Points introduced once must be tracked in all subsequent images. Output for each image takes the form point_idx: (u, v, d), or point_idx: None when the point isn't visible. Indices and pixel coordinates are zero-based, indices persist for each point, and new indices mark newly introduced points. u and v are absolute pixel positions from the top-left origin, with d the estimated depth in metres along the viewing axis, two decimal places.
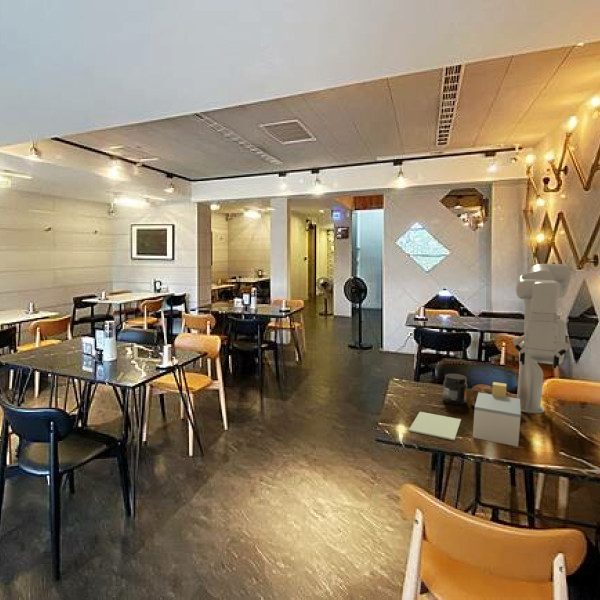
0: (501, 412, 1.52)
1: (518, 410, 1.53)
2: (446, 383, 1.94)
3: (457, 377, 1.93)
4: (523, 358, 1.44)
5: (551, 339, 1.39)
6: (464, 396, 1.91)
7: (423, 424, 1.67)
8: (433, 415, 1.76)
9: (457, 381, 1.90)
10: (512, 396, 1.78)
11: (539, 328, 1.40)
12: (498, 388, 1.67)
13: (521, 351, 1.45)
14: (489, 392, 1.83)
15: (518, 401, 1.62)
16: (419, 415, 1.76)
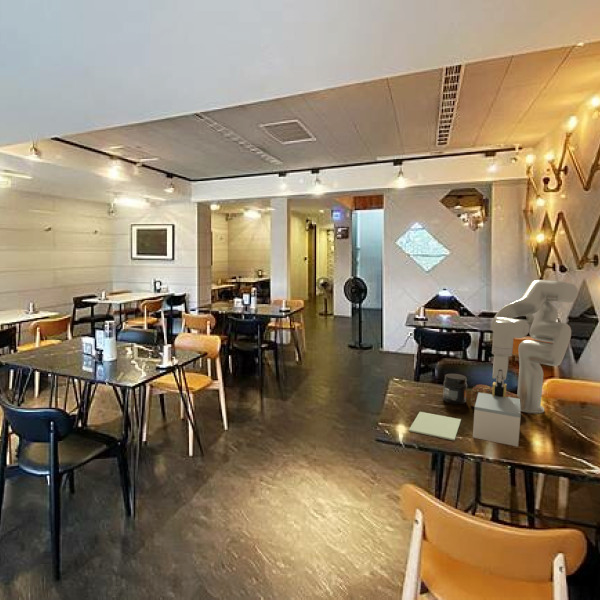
0: (501, 412, 1.52)
1: (518, 410, 1.53)
2: (446, 383, 1.94)
3: (457, 377, 1.93)
4: None
5: None
6: (464, 396, 1.91)
7: (423, 424, 1.67)
8: (433, 415, 1.76)
9: (457, 381, 1.90)
10: (514, 395, 1.79)
11: None
12: None
13: (502, 386, 1.65)
14: (491, 392, 1.82)
15: (518, 401, 1.62)
16: (419, 415, 1.76)
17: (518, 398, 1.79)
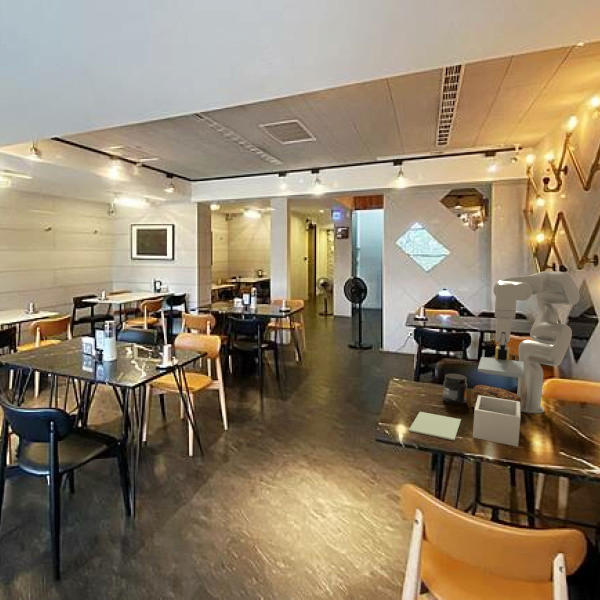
0: (504, 373, 1.50)
1: (522, 371, 1.51)
2: (446, 383, 1.94)
3: (457, 377, 1.93)
4: (506, 354, 1.65)
5: None
6: (464, 396, 1.91)
7: (423, 424, 1.67)
8: (433, 415, 1.76)
9: (457, 381, 1.90)
10: (515, 395, 1.79)
11: None
12: None
13: None
14: (492, 393, 1.82)
15: (521, 363, 1.60)
16: (419, 415, 1.76)
17: (518, 397, 1.80)
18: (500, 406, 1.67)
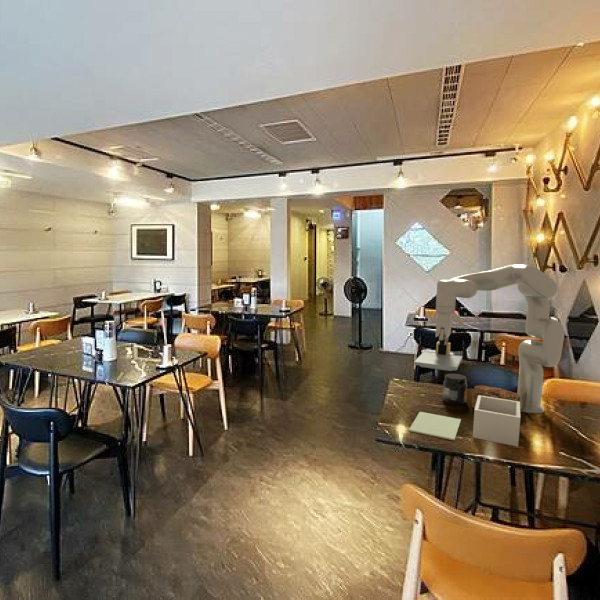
0: (439, 366, 1.54)
1: (456, 364, 1.55)
2: (446, 383, 1.94)
3: (457, 377, 1.93)
4: None
5: None
6: (464, 396, 1.91)
7: (423, 424, 1.67)
8: (433, 415, 1.76)
9: (457, 381, 1.90)
10: (516, 394, 1.80)
11: (450, 319, 1.69)
12: None
13: (445, 344, 1.68)
14: (494, 393, 1.81)
15: (459, 358, 1.65)
16: (419, 415, 1.76)
17: (519, 396, 1.81)
18: (500, 406, 1.67)
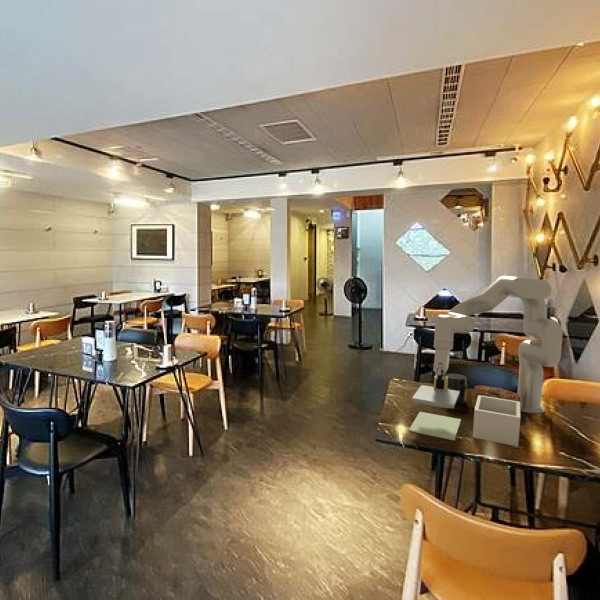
0: (436, 403, 1.56)
1: (453, 401, 1.57)
2: None
3: (457, 377, 1.93)
4: (443, 383, 1.71)
5: None
6: (464, 396, 1.91)
7: (423, 424, 1.67)
8: (433, 415, 1.76)
9: (457, 381, 1.90)
10: (516, 394, 1.80)
11: (448, 354, 1.70)
12: None
13: (443, 378, 1.70)
14: (494, 393, 1.81)
15: (457, 393, 1.66)
16: (419, 415, 1.76)
17: (519, 396, 1.81)
18: (500, 406, 1.67)
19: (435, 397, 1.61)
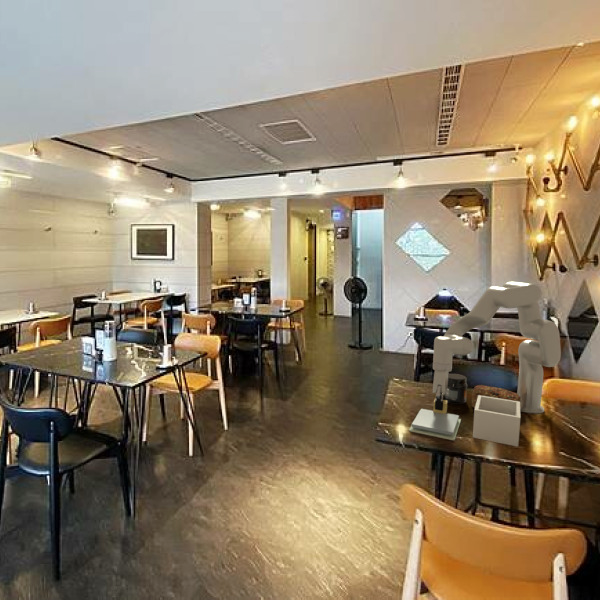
0: (435, 430, 1.58)
1: (452, 428, 1.59)
2: None
3: (457, 377, 1.93)
4: (442, 405, 1.71)
5: None
6: (464, 396, 1.91)
7: None
8: None
9: (457, 381, 1.90)
10: (516, 394, 1.80)
11: (447, 375, 1.71)
12: None
13: (442, 400, 1.70)
14: (494, 393, 1.82)
15: (456, 418, 1.68)
16: None
17: (519, 396, 1.81)
18: (500, 406, 1.67)
19: (434, 423, 1.63)
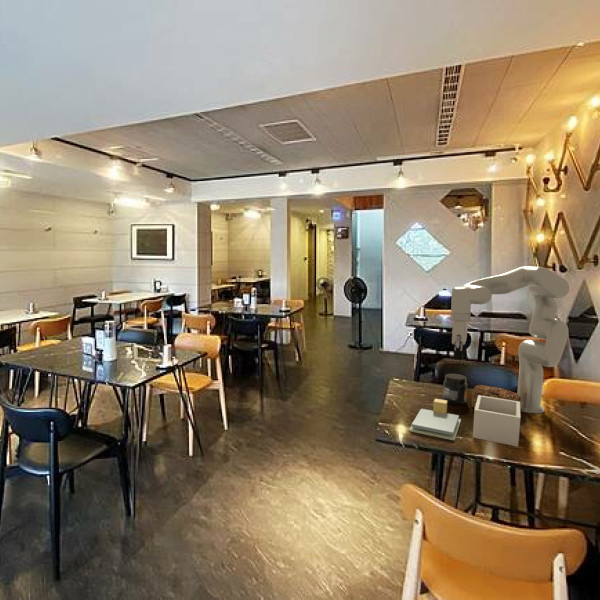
0: (435, 430, 1.58)
1: (452, 428, 1.59)
2: (446, 383, 1.94)
3: (457, 377, 1.93)
4: (462, 354, 1.68)
5: None
6: (464, 396, 1.91)
7: None
8: None
9: (457, 381, 1.90)
10: (516, 394, 1.80)
11: (466, 325, 1.70)
12: (438, 405, 1.74)
13: (461, 349, 1.67)
14: (493, 393, 1.82)
15: (456, 418, 1.68)
16: None
17: (519, 397, 1.81)
18: (500, 406, 1.67)
19: (434, 423, 1.63)
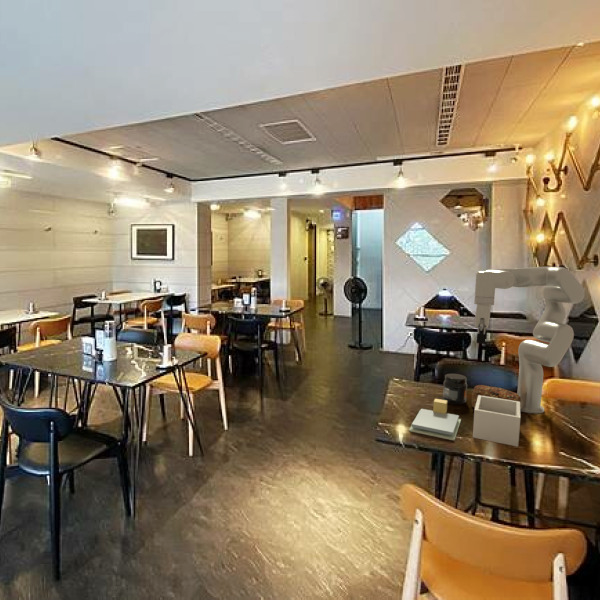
0: (435, 430, 1.58)
1: (452, 428, 1.59)
2: (446, 383, 1.94)
3: (457, 377, 1.93)
4: (485, 338, 1.68)
5: None
6: (464, 396, 1.91)
7: None
8: None
9: (457, 381, 1.90)
10: (516, 394, 1.80)
11: None
12: (438, 405, 1.74)
13: (484, 332, 1.67)
14: (493, 393, 1.82)
15: (456, 418, 1.68)
16: None
17: (519, 397, 1.81)
18: (500, 406, 1.67)
19: (434, 423, 1.63)
